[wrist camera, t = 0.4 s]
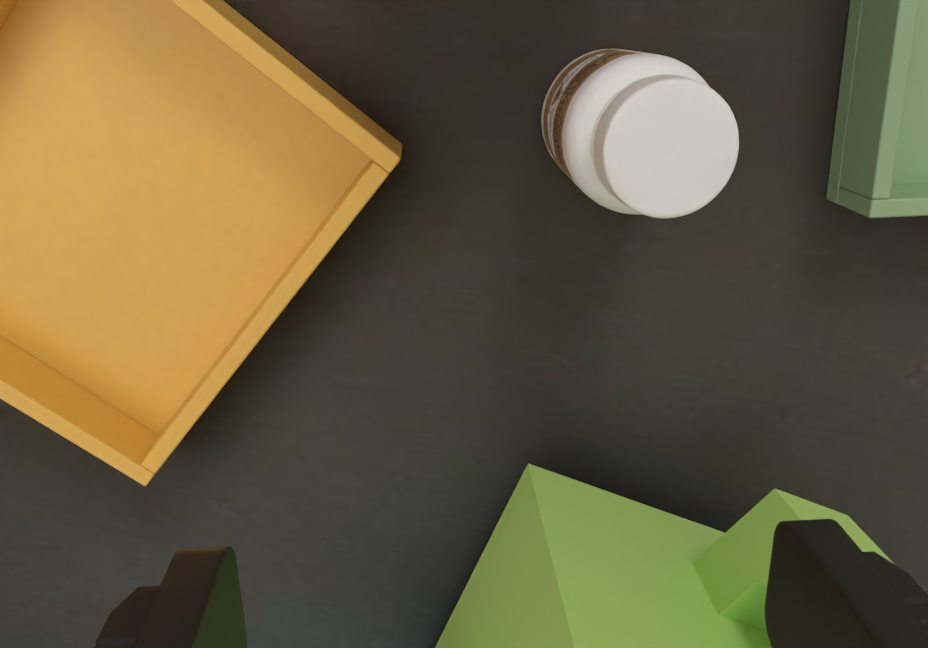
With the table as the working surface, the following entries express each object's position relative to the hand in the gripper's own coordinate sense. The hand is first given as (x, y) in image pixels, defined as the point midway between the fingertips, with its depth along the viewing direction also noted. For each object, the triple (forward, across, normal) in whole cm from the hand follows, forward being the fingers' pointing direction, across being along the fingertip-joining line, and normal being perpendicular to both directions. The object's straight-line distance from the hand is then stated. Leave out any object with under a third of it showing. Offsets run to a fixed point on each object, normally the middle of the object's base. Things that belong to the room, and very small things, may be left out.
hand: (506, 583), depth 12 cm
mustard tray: (+18, +11, -2) cm, 21 cm away
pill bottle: (+18, -5, -5) cm, 19 cm away
